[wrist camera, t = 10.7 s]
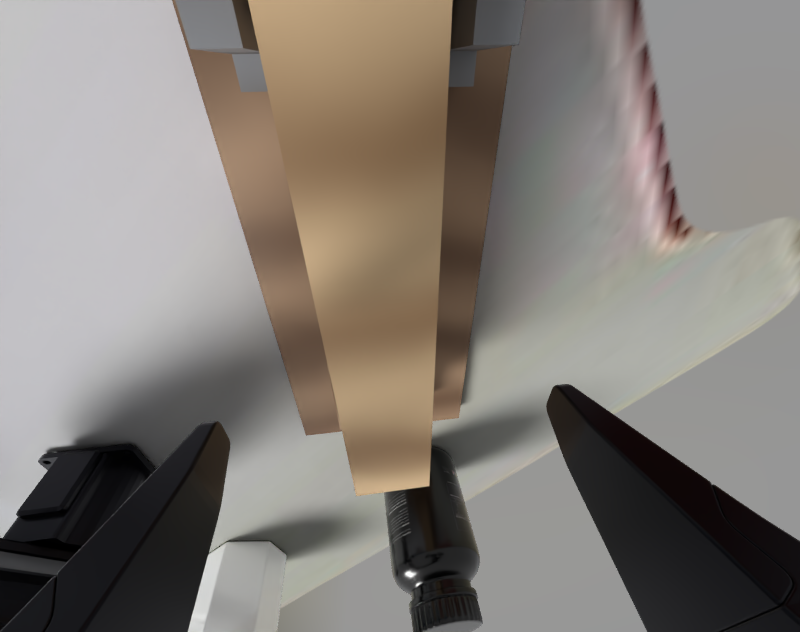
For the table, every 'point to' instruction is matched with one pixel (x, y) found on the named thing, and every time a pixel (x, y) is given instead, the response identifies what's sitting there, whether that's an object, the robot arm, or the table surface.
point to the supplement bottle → (435, 550)
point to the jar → (240, 589)
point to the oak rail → (367, 207)
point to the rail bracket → (272, 205)
